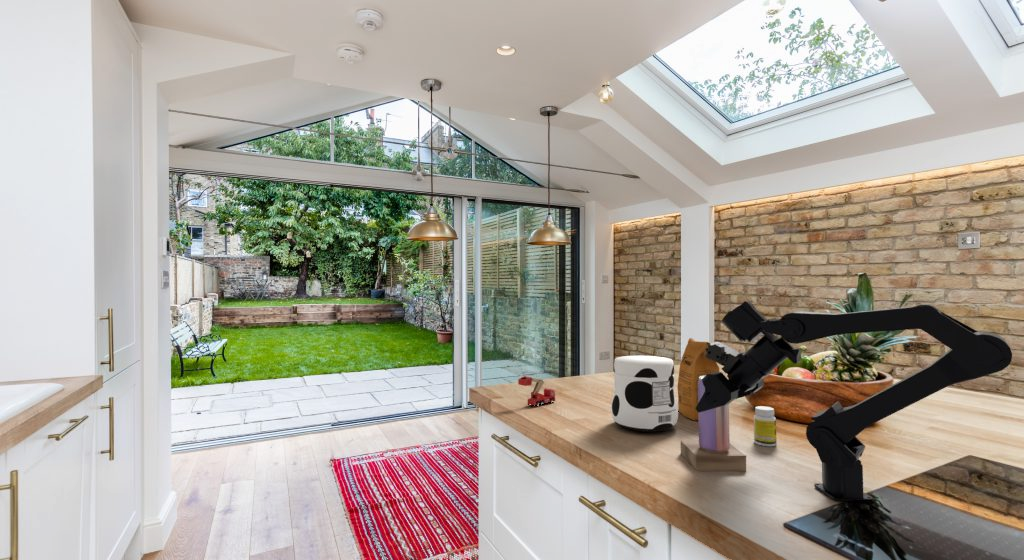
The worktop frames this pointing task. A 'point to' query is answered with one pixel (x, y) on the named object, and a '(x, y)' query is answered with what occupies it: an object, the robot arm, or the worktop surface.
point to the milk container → (644, 393)
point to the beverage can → (713, 426)
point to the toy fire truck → (535, 396)
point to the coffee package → (692, 376)
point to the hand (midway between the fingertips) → (706, 406)
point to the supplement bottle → (764, 426)
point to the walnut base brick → (712, 458)
